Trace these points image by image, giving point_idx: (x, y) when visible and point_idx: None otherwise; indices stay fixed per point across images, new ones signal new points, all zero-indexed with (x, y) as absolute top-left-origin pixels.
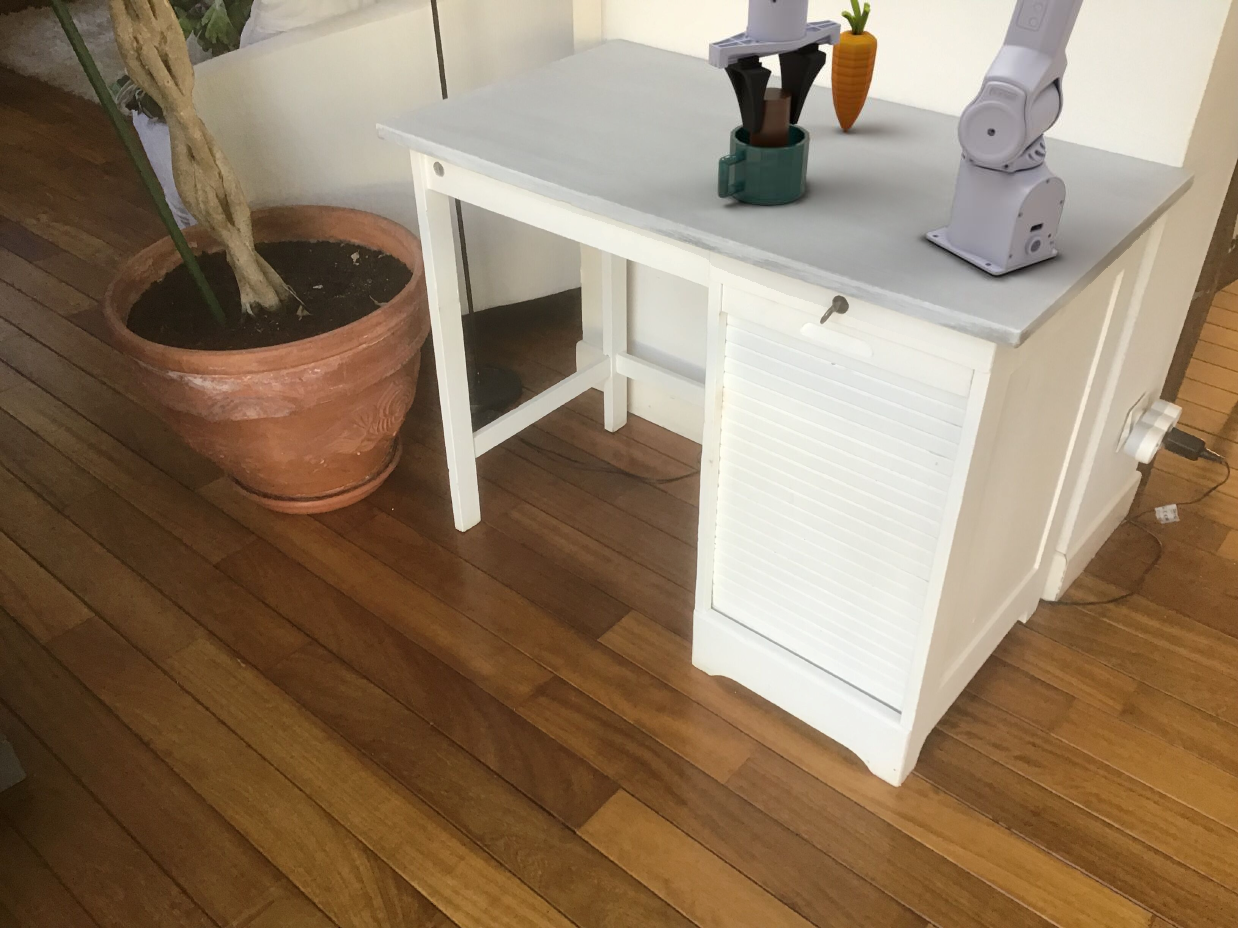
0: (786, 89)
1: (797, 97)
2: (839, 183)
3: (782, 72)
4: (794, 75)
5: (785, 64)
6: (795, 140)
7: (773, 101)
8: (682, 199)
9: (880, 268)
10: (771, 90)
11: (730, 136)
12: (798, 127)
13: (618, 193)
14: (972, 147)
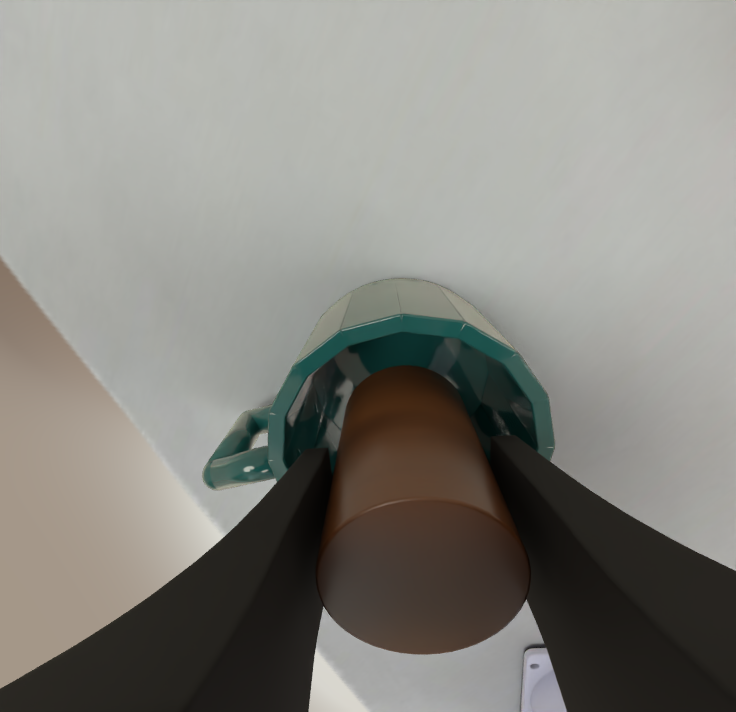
0: (547, 548)
1: (535, 609)
2: (574, 416)
3: (597, 588)
4: (592, 698)
5: (637, 682)
6: (519, 412)
7: (377, 641)
8: (185, 329)
9: (399, 673)
10: (450, 552)
11: (272, 405)
12: (540, 444)
13: (27, 217)
14: None
